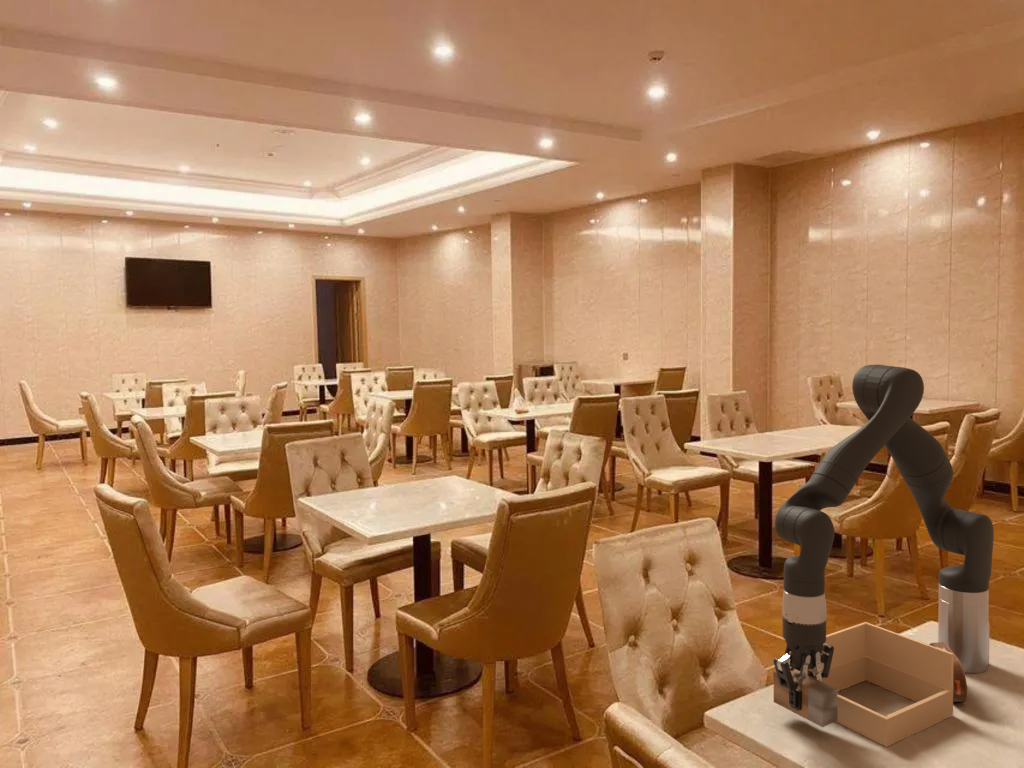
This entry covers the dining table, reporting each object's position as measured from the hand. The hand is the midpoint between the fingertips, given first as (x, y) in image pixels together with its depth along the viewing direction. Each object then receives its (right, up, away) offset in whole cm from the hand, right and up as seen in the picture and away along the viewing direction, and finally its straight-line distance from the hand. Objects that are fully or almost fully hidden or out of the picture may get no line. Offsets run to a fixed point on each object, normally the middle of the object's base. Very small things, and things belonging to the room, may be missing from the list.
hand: (804, 704), depth 144 cm
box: (0, -1, 0) cm, 1 cm away
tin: (+33, -2, +12) cm, 35 cm away
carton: (+16, -3, +6) cm, 17 cm away
